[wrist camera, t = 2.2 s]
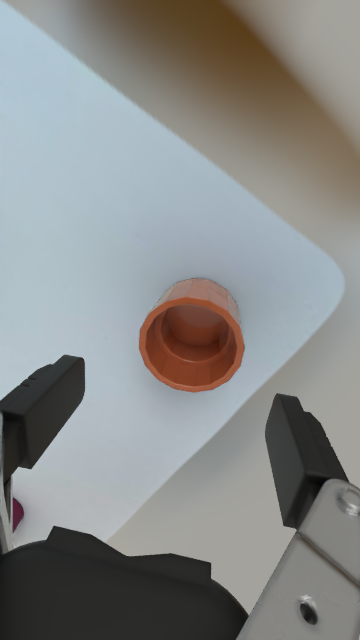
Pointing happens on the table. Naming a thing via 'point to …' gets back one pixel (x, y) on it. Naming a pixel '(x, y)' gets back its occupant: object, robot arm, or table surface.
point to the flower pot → (193, 336)
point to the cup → (16, 514)
